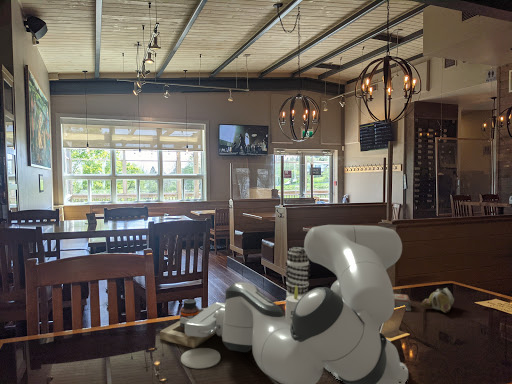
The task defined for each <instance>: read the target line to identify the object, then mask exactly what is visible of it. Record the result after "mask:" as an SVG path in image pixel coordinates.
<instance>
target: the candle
mask: <svg viewBox="0 0 512 384" xmlns="http://www.w3.org/2000/svg"><path fill="white" fill-rule="evenodd" d="M301 298H302V297H300V296H298V288H297V285H296V286H295V292H294V296H288V297H286V296H285V310H286V311H285V315H284V316H285V318H286V320H287V322H288V324H289V325H290V327H291V324H292V317H293V312H294V309H295V306H296V304H297V303H298V301H299V300H300V299H301Z"/></svg>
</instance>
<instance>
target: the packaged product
mask: <svg viewBox="0 0 512 384" xmlns="http://www.w3.org/2000/svg"><path fill="white" fill-rule="evenodd" d="M394 302H395V306H394V308H396V307H400V306H403V305H405V306H406V310H405V311H407V312H409V311H410V312H412V308H411V305H412V304H411V300H410V297H409V295H408V294H402V293H401V294H400V293H399V294H398V293H394Z"/></svg>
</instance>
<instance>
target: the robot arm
mask: <svg viewBox="0 0 512 384" xmlns="http://www.w3.org/2000/svg"><path fill="white" fill-rule="evenodd" d="M303 248H305V252H306V254H307V256H308V260H309V261H311V262H312V263H315V264H318V265H321V266H322V267H325V268H326V269H328V270H329V271H331V272H332V273H333V274H334V275H335V276H336V278H337V279H336V280H335V281H334V282H333V283H332V285H331V287H330V288H329V287H326V286H321V287H315V288H313V289H311V290H308V292H307V293H306V294H305V295H304V296H302V298H301V299H300V300H299V301H298V303H297V304H296V306H295V309H294V312H293V317H292V324H291V327H290V325H289V324H288V322H287V320H286V318H285V315H284V312H283V309H282V308H281V307H280V306H279V305H278V304H276V302H274V301H273V300H271V299H270V298H269V297H267V296H266V295H265V294H263V293H262V292H261V291H260V290H259V288H258V287H257V286H256V285H253V284H252V283H249V282H240V281H239V282H233V283H232V284H231V285H230V286H229V287H228V288H227V289H225V296H224V297H225V299H224V300H225V302H214V303H212V304H210V305H209V306H207V307H204V308H203V307H202V308H199V314H197V315H196V316H195V317H193V318H190V319H188V318H187V316H182V317H181V318H180V317H179V321H180V323H183V324H185V334H186V335H188V336H195V337H208V336H209V335H211V334H213V333H215V331H216V336H218V337H221V338H222V339H221V341H222V343H223V345H224V346H225V347H226V349H228V350H229V351H236V352H239V353H248V352H249V351H251V350H252V355H253V358H254V361H255V362H256V365H257V366H258V367H259V369H260V370H261V371H262V372H263V373H264V374H265V375H266V376H268V377H270V378H271V379H272V380H274V381H276V382H278V383H280V384H317V383H318V381H319V380H320V379H321V377H322V376H323V375H322V374H323V372H324V369H325V370H326V371H328V372H329V373H330V372H331V373H330V374H332V375H333V377H334V376H335V377H336V378H335V377H334V378H335V380H336V379H338V380H341V381H343V382H342V383H344V384H405V382H406V381H407V379H408V380H409V369H408V367H407V366H406V364H404V363H403V362H401V360H400V355H399V352H398V349H397V347H396V346H395V345H394V344H393V343H392V342H390V341H389V340H388V339H387V337H386V335H384V334H383V333H382V332H380V328H381V326H382V325H383V324H384V323H386V322H387V321H388V320H389V319H391V317H392V316H393V313H394V306H395V302H394V294H395V293H394V289H393V286H392V285H393V284H392V281H391V278H390V277H389V274H388V272H387V269H389V268H390V267H391V266H393V265H395V264H396V263H397V262H398V260H399V259H401V255H402V253H403V243H402V239H401V237H400V236H399V234H398V232H396V231H395V229H393V228H388V227H384V226H379V225H361V224H360V225H355V224H353V225H352V224H351V225H350V224H326V225H318V226H313V227H311V228H310V229H309V230H308V231H307V233H306V235H305V237H304V243H303ZM403 368H404V369H403ZM338 380H337V381H338ZM399 382H401V383H399ZM407 382H408V381H407Z"/></svg>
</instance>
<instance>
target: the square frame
mask: <svg viewBox="0 0 512 384" xmlns="http://www.w3.org/2000/svg"><path fill="white" fill-rule="evenodd" d="M215 334H216V331H215V333H213V334H211V335H209V336H208V337H195V336H188V335H186V334H185V333H182V332H180V320H178V321H176V322H175V323H172V324H171V325H169V326H167V327H165V328H164V329H161V330H159V340H161V341H166V342H169V343H172V344H173V343H175V344H178V345H181V346H183V347H184V346H185V347H187V348H188V347H189V348H191V349H195V348H196V347H198V346H199V345H201V344H203V343H204V342H206V341H207V340H209V339H210V338H211V337H212V336H214V335H215ZM216 335H217V334H216Z"/></svg>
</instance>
